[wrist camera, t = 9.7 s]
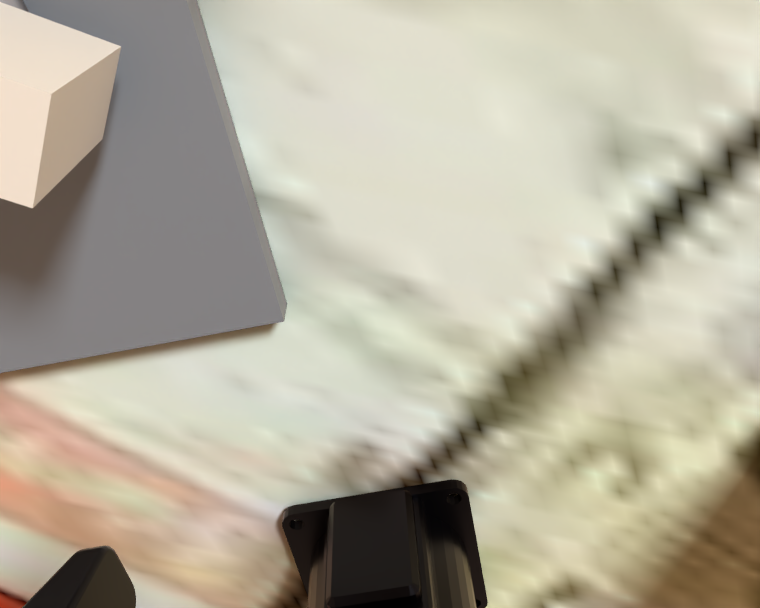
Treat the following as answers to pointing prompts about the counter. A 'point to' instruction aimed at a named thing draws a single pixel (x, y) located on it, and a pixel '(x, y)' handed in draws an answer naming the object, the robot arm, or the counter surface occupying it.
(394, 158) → the counter surface
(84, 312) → the dial board
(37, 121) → the peg knob
